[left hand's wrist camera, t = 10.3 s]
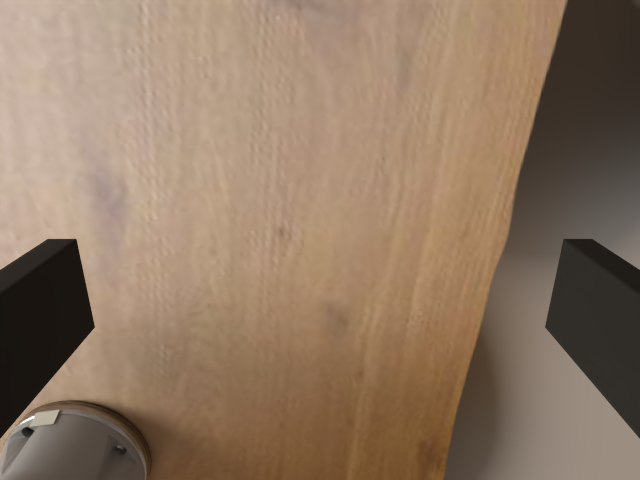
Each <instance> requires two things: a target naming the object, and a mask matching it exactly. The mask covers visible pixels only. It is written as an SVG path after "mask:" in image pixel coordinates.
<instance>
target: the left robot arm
mask: <svg viewBox="0 0 640 480" xmlns="http://www.w3.org/2000/svg"><path fill="white" fill-rule="evenodd" d="M94 328H95V326H94V321H93V316H92V311H91V307H90V302H89V297H88V292H87V288H86V283H85V278H84V273H83V268H82V264H81V259H80V254H79V249H78V245H77V240H76V239H47V240H46V241H44V242H43V243H41V244H40V245H38V246H36V247H35V248H33V249H32V250H30V251H29V252H27V253H26V254H24V255H23V256H21V257H19V258H18V259H16V260H15V261H13V262H12V263H10V264H9V265H7V266H6V267H4V268H3V269H1V270H0V438H1V437H2V436H3V435H4V433H5V432H6V431H7V430H8V429H9V428H10V426H11V425H12V424H13V423H14V422H15V421H16V419H17V418H18V417H19V416H20V415H21V413H22V412H23V411H24V410H25V409H26V408H27V406H28V405H29V404H30V403H31V402H32V401H33V399H34V398H35V397H36V396H37V395H38V393H39V392H40V391H41V390H42V389H43V388H44V386H45V385H46V384H47V383H48V382H49V381H50V379H51V378H52V377H53V376H54V375H55V373H56V372H57V371H58V370H59V369H60V368H61V366H62V365H63V364H64V363H65V362H66V361H67V359H68V358H69V357H70V356H71V355H72V353H73V352H74V351H75V350H76V349H77V348H78V346H79V345H80V344H81V343H82V342H83V341H84V339H85V338H86V337H87V336H88V335H89V333H90V332H91V331H92V330H93V329H94ZM545 328H546V329H547V330H548V331H549V332H550V333H551V335H552V336H553V337H554V338H555V339H556V341H557V342H558V343H559V344H560V345H561V346H562V348H563V349H564V350H565V351H566V352H567V353H568V355H569V356H570V357H571V358H572V359H573V361H574V362H575V363H576V364H577V365H578V366H579V368H580V369H581V370H582V371H583V372H584V373H585V375H586V376H587V377H588V378H589V379H590V380H591V382H592V383H593V384H594V385H595V386H596V388H597V389H598V390H599V391H600V392H601V393H602V395H603V396H604V397H605V398H606V399H607V401H608V402H609V403H610V404H611V405H612V406H613V408H614V409H615V410H616V411H617V412H618V413H619V415H620V416H621V417H622V418H623V419H624V421H625V422H626V423H627V424H628V425H629V426H630V428H631V429H632V430H633V431H634V432H635V433H636V435H637V436H638V437H639V438H640V270H639V269H637V268H636V267H634V266H633V265H631V264H630V263H628V262H627V261H625V260H624V259H622V258H621V257H619V256H617V255H616V254H614V253H613V252H611V251H610V250H608V249H607V248H605V247H604V246H602V245H600V244H599V243H597V242H596V241H594V240H593V239H564V240H563V245H562V249H561V254H560V259H559V264H558V268H557V273H556V278H555V283H554V288H553V292H552V297H551V302H550V307H549V311H548V316H547V321H546V326H545ZM150 469H151V456H150V451H149V448H148V446H147V444H146V442H145V440H144V438H143V437H142V435H141V434H140V433H139V431H138V430H137V429H136V428H135V427H134V426H133V425H132V424H131V423H129V422H128V421H127V420H126V419H124V418H123V417H121V416H120V415H118V414H116V413H114V412H112V411H110V410H108V409H106V408H103V407H100V406H97V405H94V404H90V403H85V402H77V401H61V402H54V403H50V404H46V405H43V406H40V407H38V408H36V409H34V410H33V411H31V412H30V413H28V414H27V415H26V416H25V417H24V418H23V419H22V420H21V421H20V422H19V423H18V425H17V426H16V427H15V428H14V429H13V431H12V432H11V433H10V434H9V436H8V438H7V439H6V442H5V444H4V447H3V450H2V453H1V455H0V480H147V478H148V476H149V473H150Z"/></svg>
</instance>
